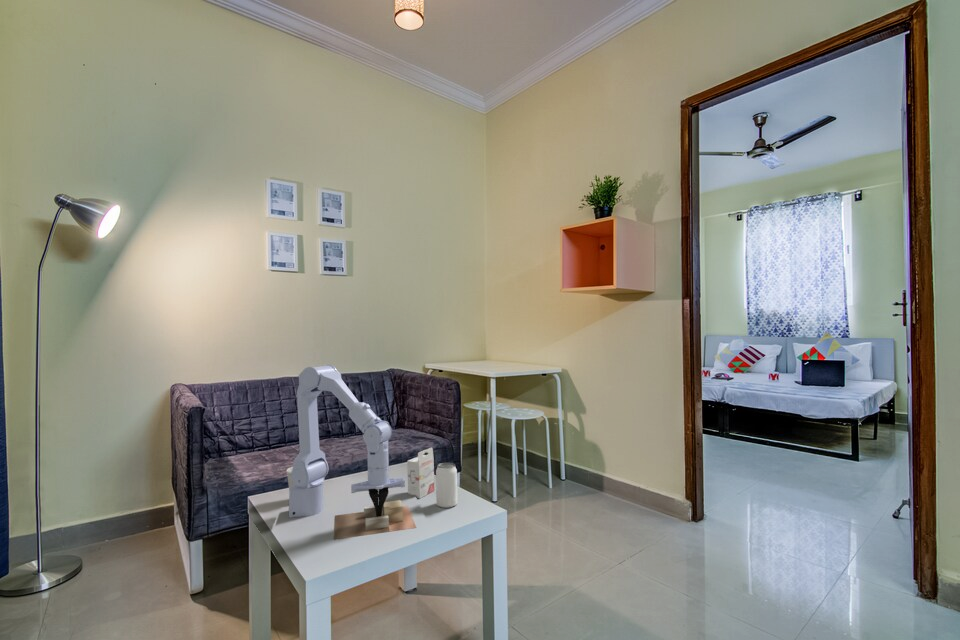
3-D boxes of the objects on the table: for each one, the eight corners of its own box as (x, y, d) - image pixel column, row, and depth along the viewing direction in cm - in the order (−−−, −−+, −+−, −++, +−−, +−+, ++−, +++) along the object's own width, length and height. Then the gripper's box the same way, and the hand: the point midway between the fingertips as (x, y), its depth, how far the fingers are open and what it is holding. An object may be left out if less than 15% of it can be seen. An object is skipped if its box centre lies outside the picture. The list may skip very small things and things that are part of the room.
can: (461, 503, 138) (461, 464, 138) (446, 510, 133) (445, 469, 134) (447, 498, 142) (446, 461, 143) (432, 504, 138) (431, 465, 138)
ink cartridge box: (422, 488, 153) (422, 445, 153) (434, 490, 150) (434, 446, 151) (407, 496, 145) (406, 451, 146) (419, 499, 143) (418, 452, 143)
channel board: (333, 543, 113) (333, 529, 113) (334, 519, 128) (334, 506, 128) (416, 531, 119) (416, 518, 119) (408, 509, 134) (407, 497, 134)
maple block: (384, 523, 122) (384, 508, 122) (382, 516, 127) (382, 502, 127) (402, 521, 124) (402, 506, 124) (400, 514, 128) (400, 500, 128)
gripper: (351, 473, 119) (351, 524, 118) (406, 467, 123) (406, 517, 122) (351, 465, 125) (351, 514, 125) (402, 460, 130) (403, 508, 129)
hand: (378, 515), depth 124 cm, fingers closed
